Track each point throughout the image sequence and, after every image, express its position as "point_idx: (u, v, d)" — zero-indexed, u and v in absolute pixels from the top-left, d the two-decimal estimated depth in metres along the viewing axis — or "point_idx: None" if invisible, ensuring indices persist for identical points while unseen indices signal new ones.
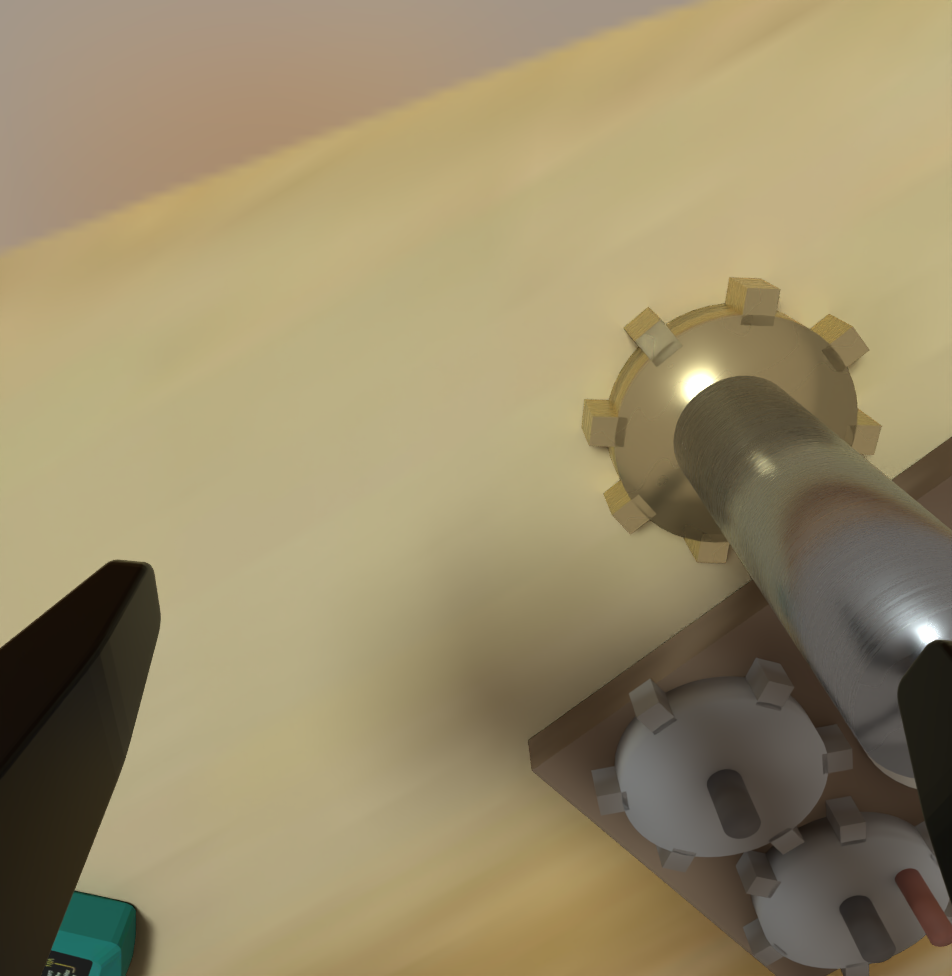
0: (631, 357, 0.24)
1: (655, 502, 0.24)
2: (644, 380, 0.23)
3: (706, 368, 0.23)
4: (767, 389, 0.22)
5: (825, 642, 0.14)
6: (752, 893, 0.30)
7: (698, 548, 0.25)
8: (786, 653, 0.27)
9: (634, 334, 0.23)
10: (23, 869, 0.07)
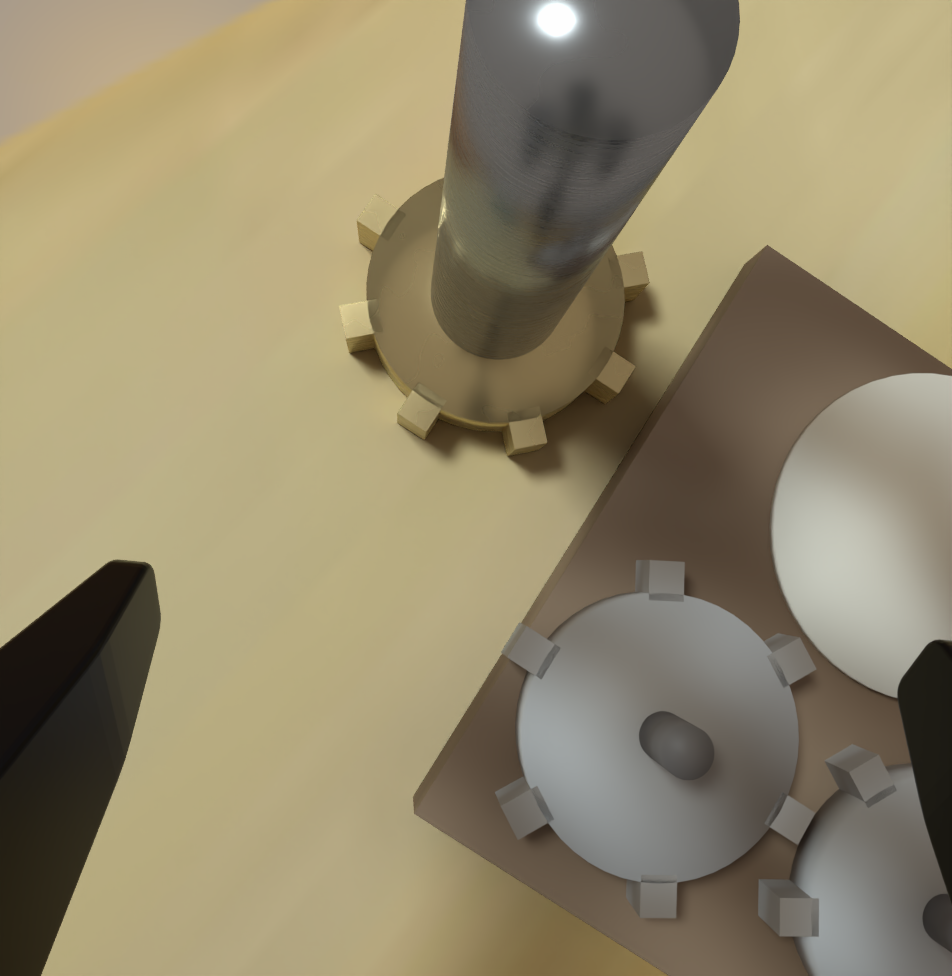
0: None
1: (440, 387, 0.22)
2: (380, 256, 0.22)
3: None
4: None
5: (461, 76, 0.12)
6: (788, 933, 0.20)
7: (510, 434, 0.22)
8: (669, 544, 0.22)
9: (360, 223, 0.22)
10: (23, 869, 0.07)
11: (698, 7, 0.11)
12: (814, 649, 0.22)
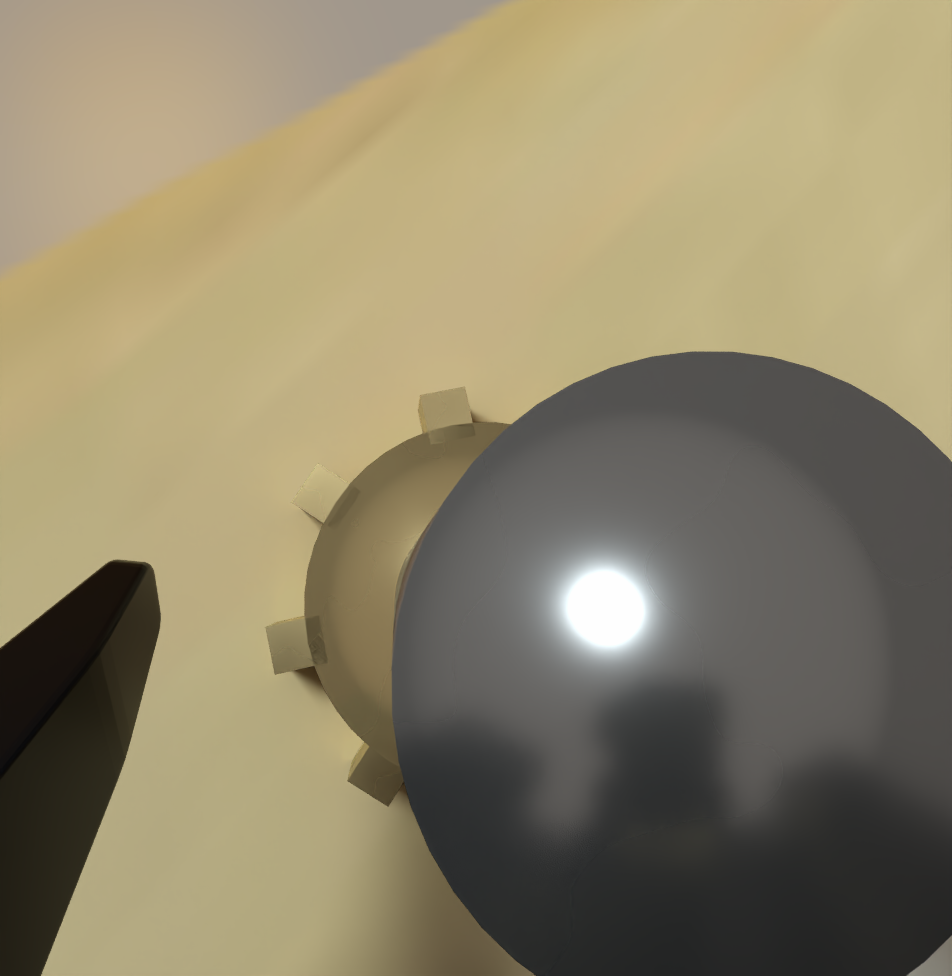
0: None
1: None
2: (324, 553, 0.16)
3: (407, 514, 0.16)
4: None
5: None
6: None
7: None
8: None
9: None
10: (23, 869, 0.07)
11: (946, 666, 0.04)
12: None
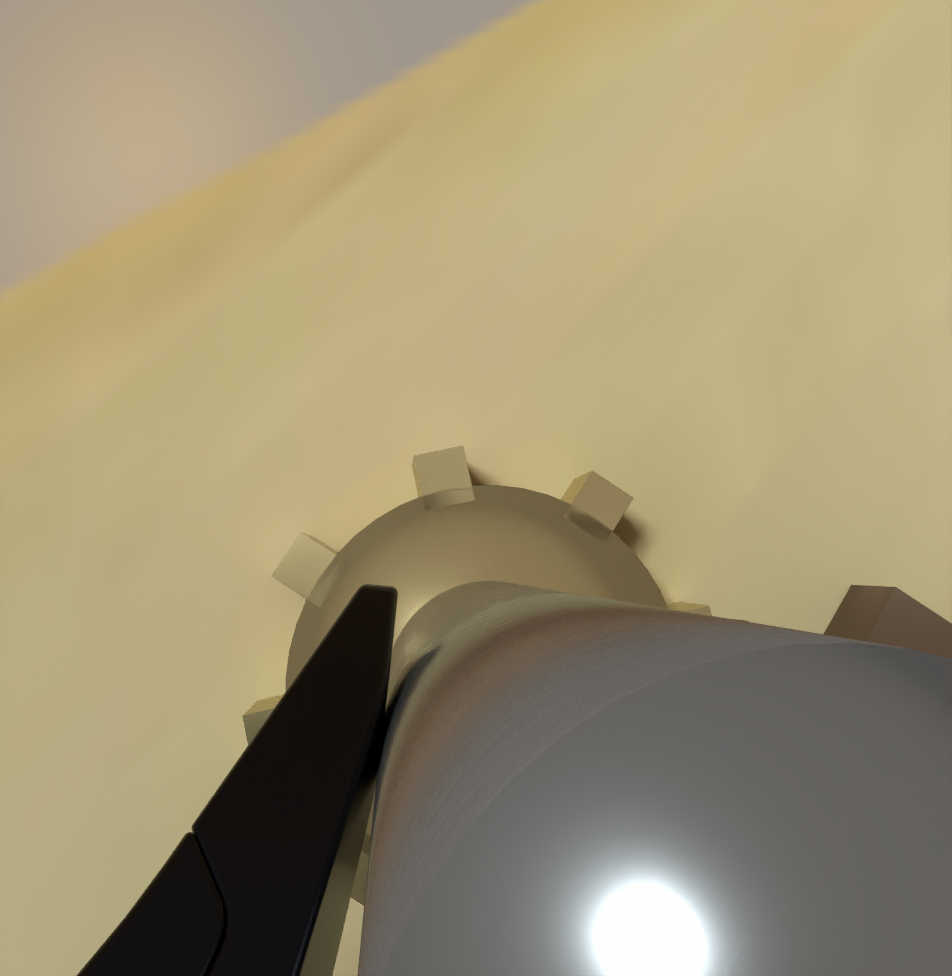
0: None
1: None
2: (308, 633, 0.14)
3: (399, 588, 0.14)
4: (481, 583, 0.13)
5: None
6: None
7: None
8: None
9: None
10: (341, 889, 0.07)
11: None
12: None
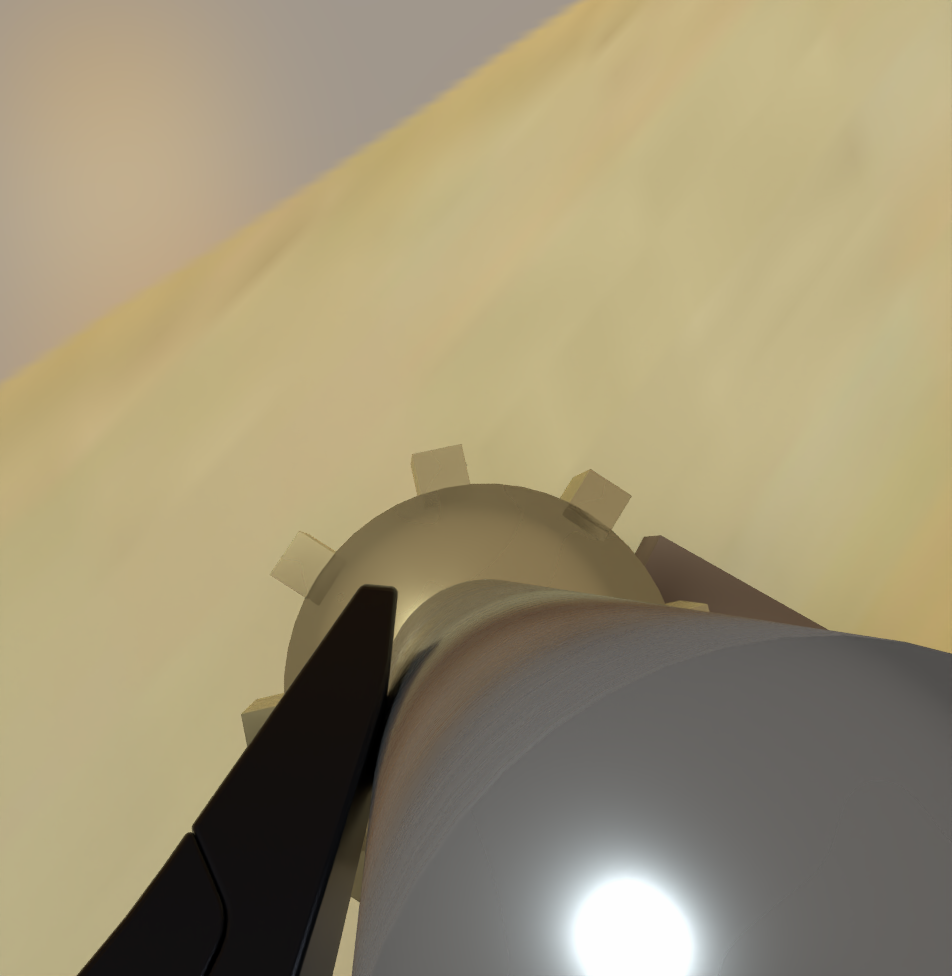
0: None
1: None
2: (306, 631, 0.14)
3: (397, 587, 0.14)
4: (480, 581, 0.13)
5: None
6: None
7: None
8: None
9: None
10: (341, 890, 0.07)
11: None
12: None
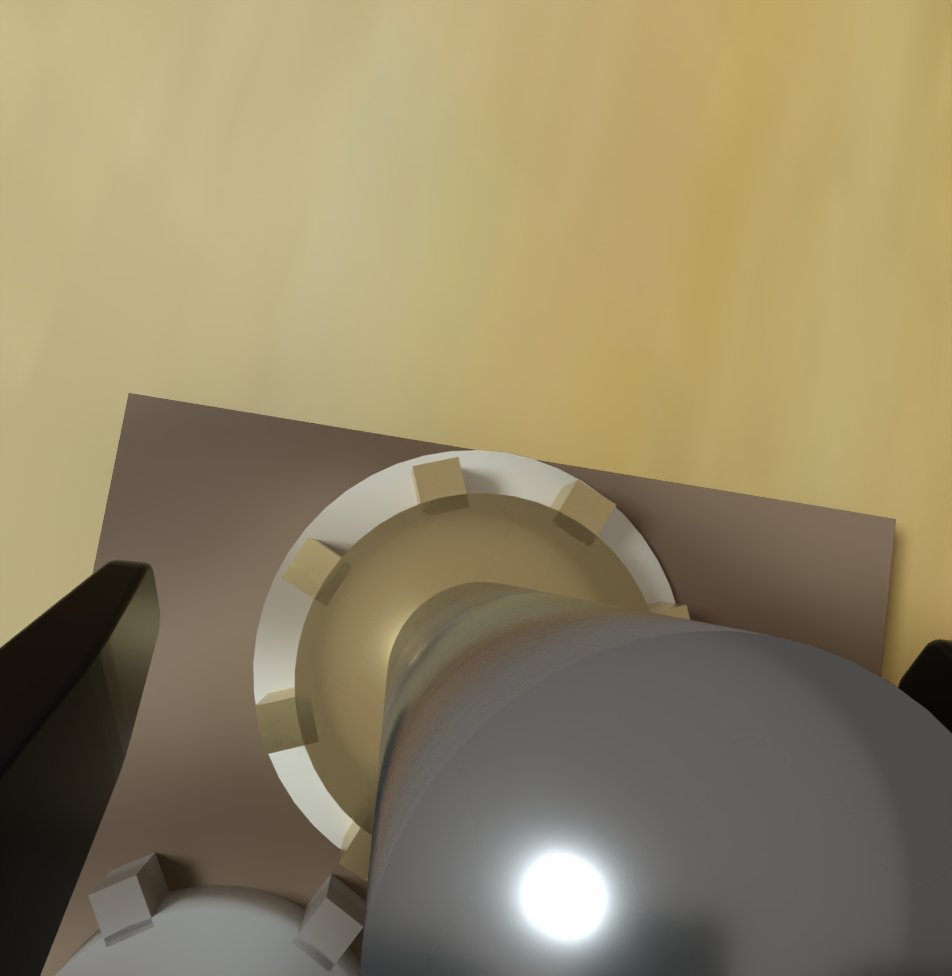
0: None
1: None
2: (315, 630, 0.15)
3: (399, 589, 0.15)
4: (475, 584, 0.14)
5: None
6: None
7: None
8: (147, 830, 0.16)
9: None
10: (23, 869, 0.07)
11: None
12: None
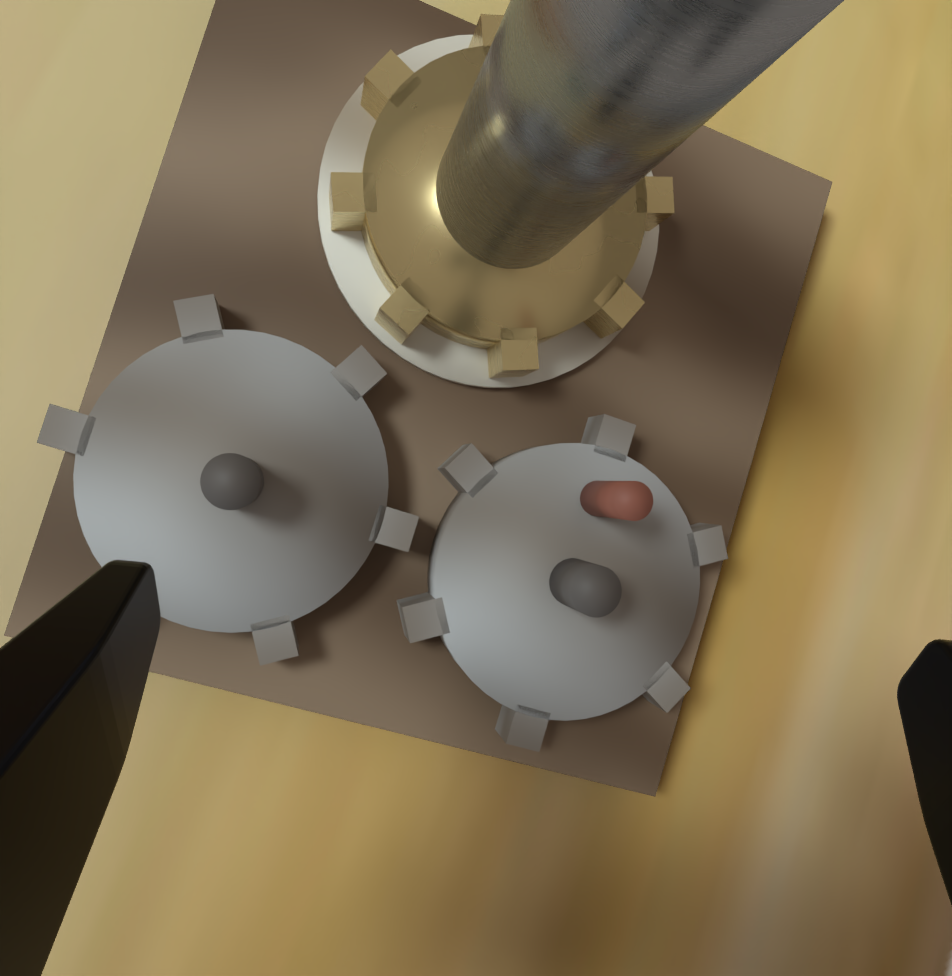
0: None
1: (432, 287, 0.19)
2: (386, 124, 0.19)
3: (456, 108, 0.19)
4: None
5: None
6: (418, 638, 0.20)
7: (500, 353, 0.20)
8: (214, 285, 0.20)
9: (366, 81, 0.19)
10: (23, 869, 0.07)
11: None
12: (400, 359, 0.21)
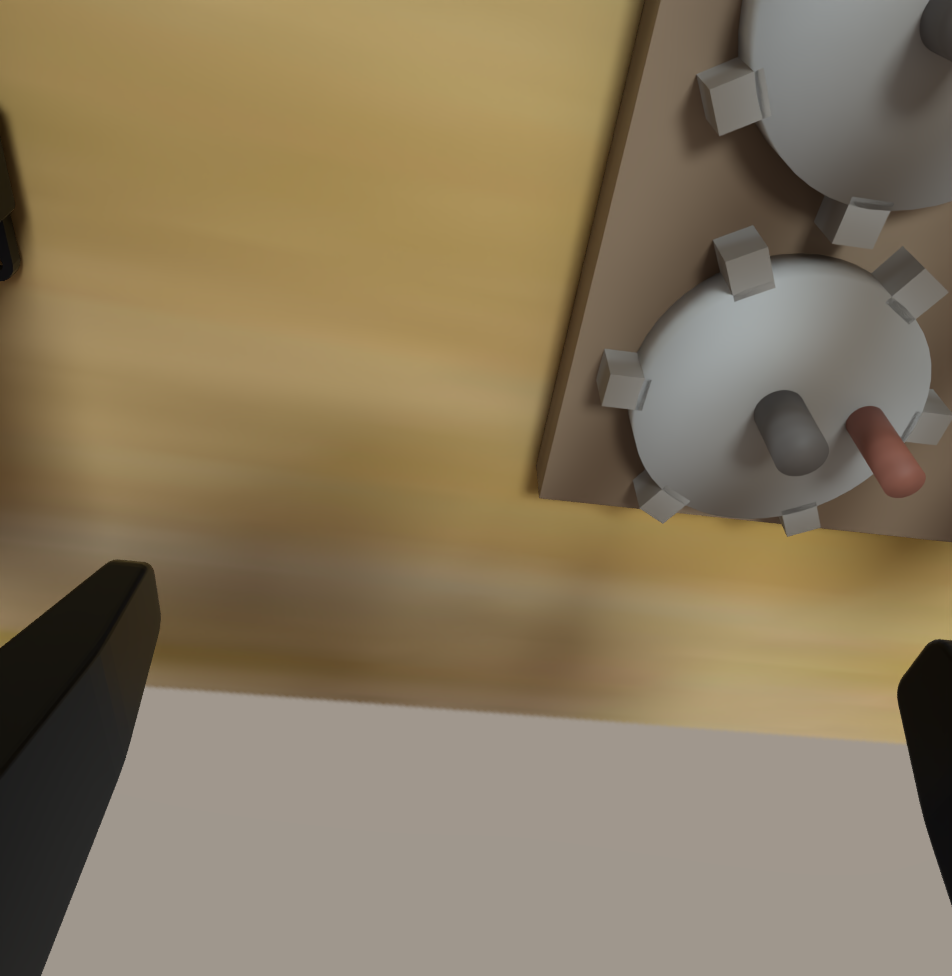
0: None
1: None
2: None
3: None
4: None
5: None
6: (730, 270, 0.18)
7: None
8: None
9: None
10: (23, 869, 0.07)
11: None
12: None
